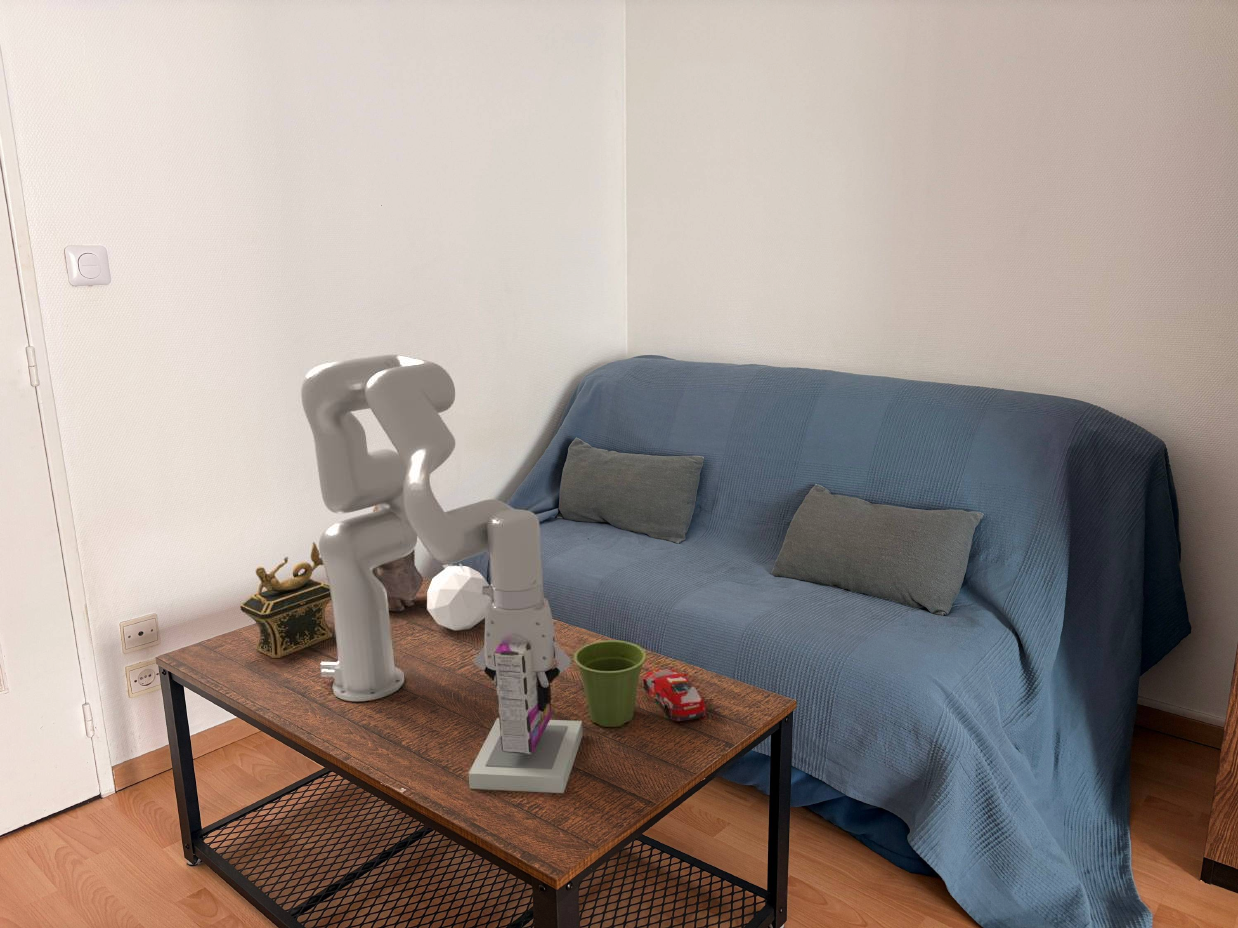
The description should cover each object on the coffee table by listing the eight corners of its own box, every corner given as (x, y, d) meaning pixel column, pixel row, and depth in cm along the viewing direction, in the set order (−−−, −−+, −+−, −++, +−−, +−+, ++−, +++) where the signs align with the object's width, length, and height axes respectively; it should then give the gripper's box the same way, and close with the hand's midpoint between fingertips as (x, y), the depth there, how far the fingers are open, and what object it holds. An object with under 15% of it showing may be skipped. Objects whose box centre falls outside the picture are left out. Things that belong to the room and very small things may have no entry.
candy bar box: (521, 715, 145) (516, 619, 141) (552, 717, 144) (547, 621, 140) (499, 753, 134) (491, 650, 131) (531, 756, 133) (525, 652, 130)
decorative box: (270, 664, 176) (257, 568, 172) (244, 651, 183) (231, 558, 178) (358, 629, 191) (348, 540, 187) (331, 618, 197) (321, 532, 193)
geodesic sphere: (400, 601, 191) (422, 558, 183) (449, 581, 201) (472, 540, 194) (441, 652, 186) (465, 611, 178) (489, 629, 196) (514, 589, 189)
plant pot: (592, 742, 145) (589, 677, 142) (566, 709, 155) (563, 648, 153) (659, 725, 149) (658, 661, 146) (630, 694, 160) (628, 634, 157)
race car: (639, 685, 163) (638, 660, 162) (674, 679, 165) (673, 653, 164) (672, 728, 148) (672, 701, 147) (710, 720, 150) (710, 693, 149)
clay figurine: (403, 594, 210) (393, 489, 204) (436, 601, 205) (426, 494, 199) (361, 614, 199) (349, 504, 193) (395, 622, 194) (383, 510, 188)
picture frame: (469, 788, 134) (468, 771, 133) (498, 731, 149) (497, 716, 148) (563, 792, 132) (562, 776, 131) (582, 734, 147) (581, 719, 146)
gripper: (453, 602, 131) (463, 716, 136) (570, 605, 129) (576, 721, 133) (468, 583, 139) (477, 692, 143) (579, 585, 136) (584, 696, 141)
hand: (524, 705), depth 138 cm, fingers closed on candy bar box, 5 cm apart
